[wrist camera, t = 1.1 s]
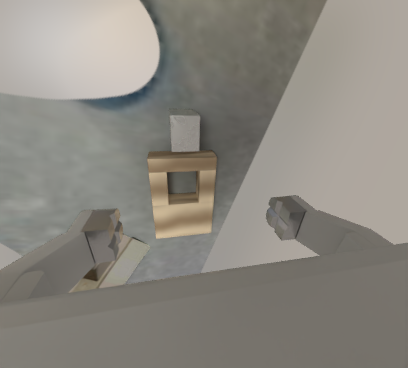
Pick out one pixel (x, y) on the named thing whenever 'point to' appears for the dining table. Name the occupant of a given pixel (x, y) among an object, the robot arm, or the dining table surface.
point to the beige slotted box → (114, 267)
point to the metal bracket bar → (184, 130)
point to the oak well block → (183, 202)
